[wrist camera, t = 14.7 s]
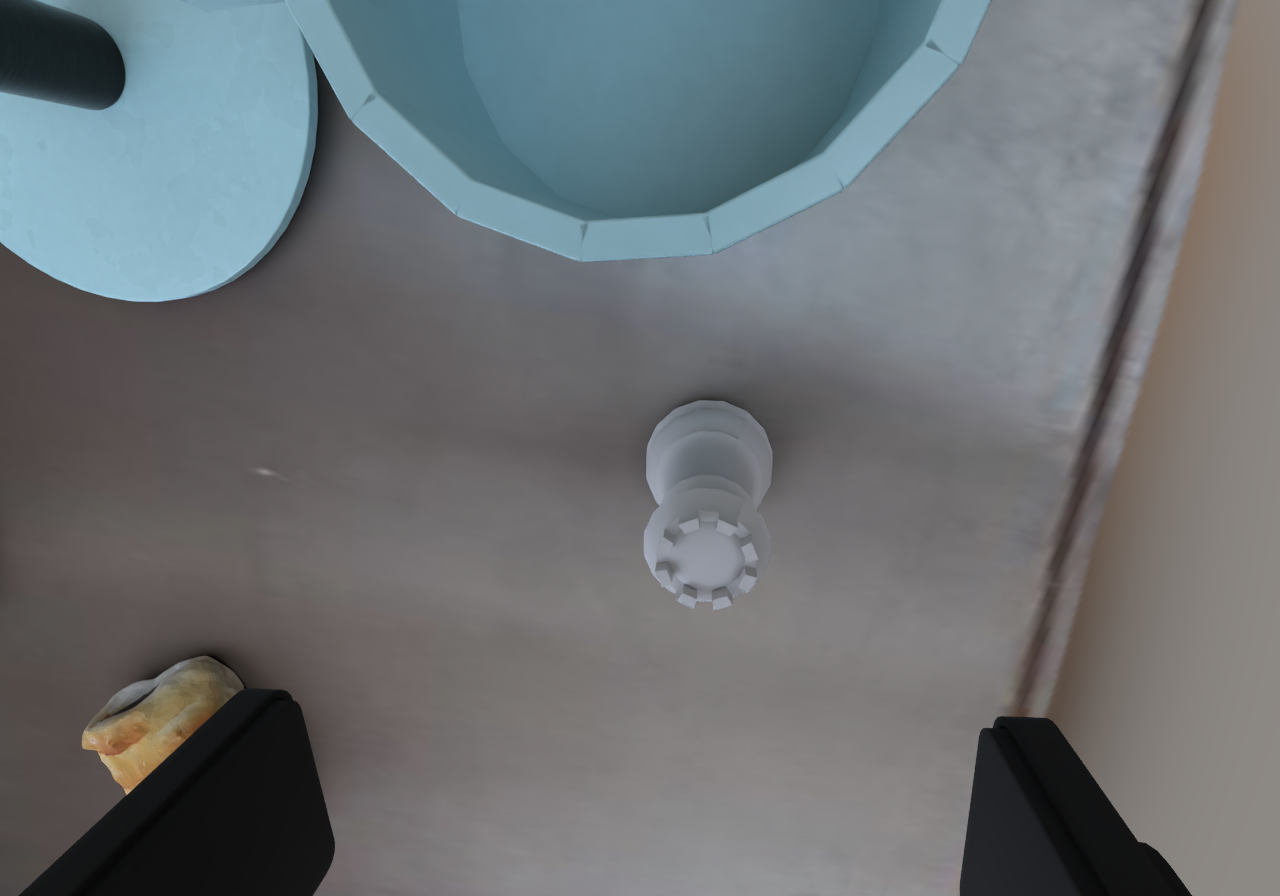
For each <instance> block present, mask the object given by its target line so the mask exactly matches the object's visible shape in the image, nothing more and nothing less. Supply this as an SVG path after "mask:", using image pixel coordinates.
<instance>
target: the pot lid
mask: <svg viewBox="0 0 1280 896" xmlns="http://www.w3.org/2000/svg"><path fill="white" fill-rule="evenodd" d="M317 121H318V96H317V77H316V69H315V62H314V55H313V52H312V50H311V48H310V46H309V44H308V43H307V41H306V39H305V37H304V35H303V33H302V32H301V30H300V28H299V26H298V24H297V22H296V21H295V19H294V17H293V15H292V13H291V11H290V10H289V8H288V6H287V4H286V2H281V3H272V4H264V5H255V6H246V7H238V8H229V9H220V10H212V11H204V10H202V9H199V8H197V7H195V6H192V5H190V4H188V3H186V2H183V1H181V0H0V242H1V243H2V244H3V245H4V246H6V247H7V248H8V249H10V250H11V251H13V252H14V253H15V254H17V255H18V256H20V257H21V258H22V259H24V260H25V261H27V262H28V263H29V264H31V265H33V266H34V267H36V268H38V269H40V270H41V271H43V272H45V273H47V274H48V275H50V276H52V277H54V278H56V279H58V280H60V281H62V282H65V283H67V284H69V285H72V286H74V287H76V288H79V289H81V290H84V291H88V292H91V293H94V294H98V295H101V296H104V297H108V298H115V299H121V300H127V301H138V302H161V301H169V300H176V299H184V298H191V297H194V296H197V295H201V294H204V293H207V292H211V291H214V290H216V289H218V288H220V287H222V286H224V285H226V284H228V283H230V282H232V281H234V280H235V279H237V278H238V277H240V276H241V275H242V274H244V273H245V272H247V271H248V270H249V269H251V268H252V267H254V266H255V265H256V264H257V263H258V262H259V261H260V260H261V259H262V258H263V257H264V256H265V255H266V254H267V253H268V252H269V251H270V250H271V249H272V247H273V246H274V245H275V243H276V242H277V241H278V239H279V238H280V236H281V235H282V234H283V232H284V231H285V230H286V228H287V226H288V224H289V223H290V221H291V219H292V217H293V215H294V213H295V211H296V209H297V207H298V205H299V203H300V200H301V198H302V195H303V192H304V189H305V186H306V183H307V181H308V178H309V174H310V169H311V164H312V160H313V155H314V150H315V144H316V132H317Z"/></svg>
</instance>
